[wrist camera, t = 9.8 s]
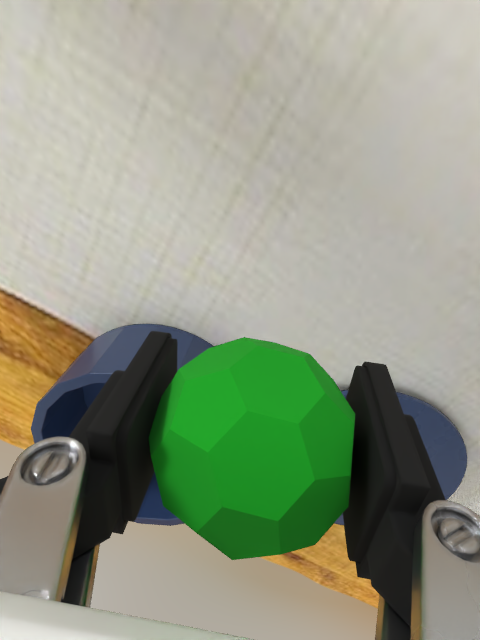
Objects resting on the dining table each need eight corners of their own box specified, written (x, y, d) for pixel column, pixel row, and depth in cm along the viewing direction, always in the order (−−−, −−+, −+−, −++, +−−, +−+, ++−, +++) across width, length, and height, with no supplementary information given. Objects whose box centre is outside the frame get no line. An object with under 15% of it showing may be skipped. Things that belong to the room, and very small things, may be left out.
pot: (261, 338, 29) (253, 393, 23) (241, 474, 36) (231, 540, 31) (64, 309, 29) (11, 355, 24) (86, 448, 37) (50, 507, 32)
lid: (496, 401, 29) (545, 472, 23) (423, 529, 37) (446, 603, 31) (280, 369, 30) (277, 429, 24) (256, 500, 38) (250, 567, 32)
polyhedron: (379, 395, 11) (429, 566, 7) (253, 459, 13) (233, 621, 9) (271, 271, 10) (253, 395, 5) (148, 364, 12) (66, 506, 7)
